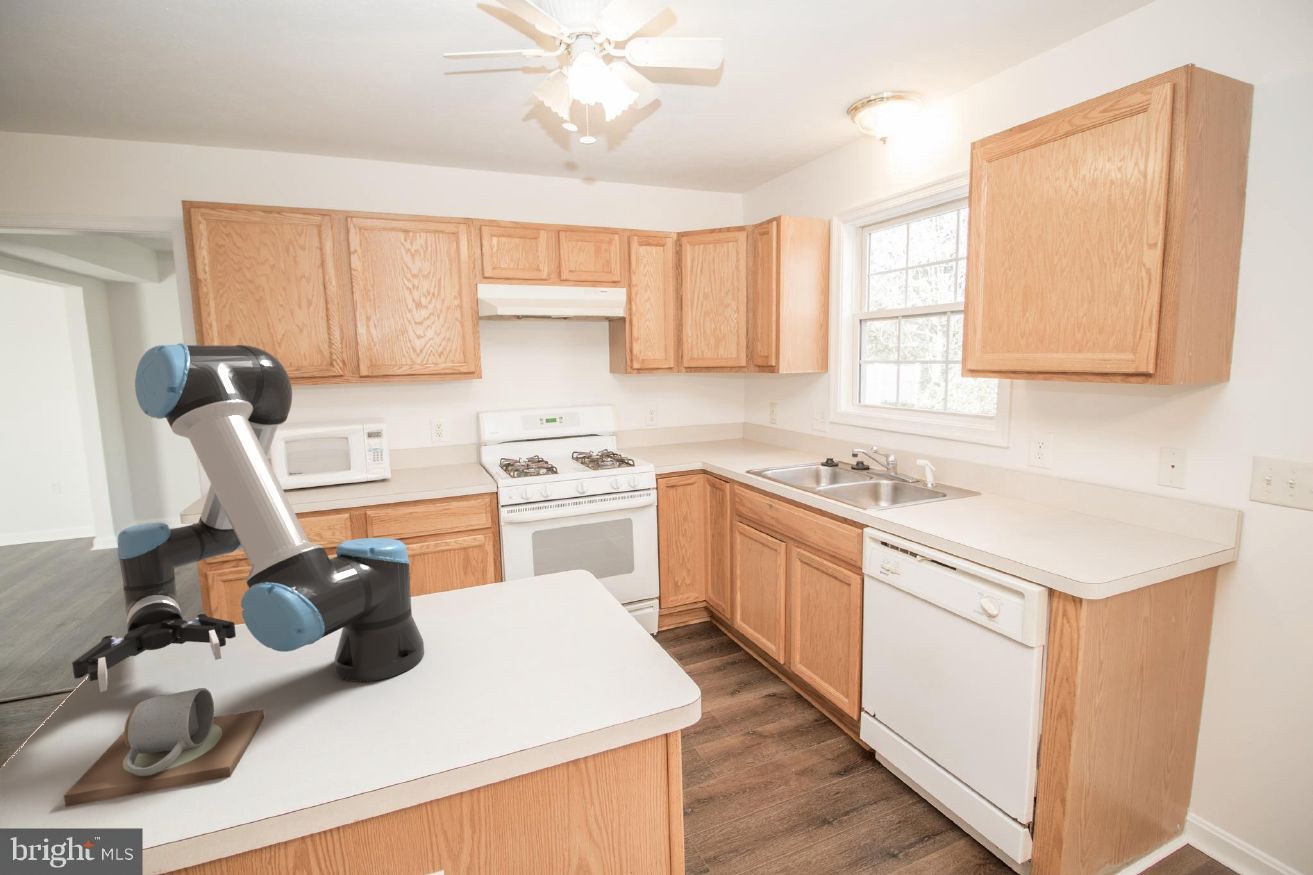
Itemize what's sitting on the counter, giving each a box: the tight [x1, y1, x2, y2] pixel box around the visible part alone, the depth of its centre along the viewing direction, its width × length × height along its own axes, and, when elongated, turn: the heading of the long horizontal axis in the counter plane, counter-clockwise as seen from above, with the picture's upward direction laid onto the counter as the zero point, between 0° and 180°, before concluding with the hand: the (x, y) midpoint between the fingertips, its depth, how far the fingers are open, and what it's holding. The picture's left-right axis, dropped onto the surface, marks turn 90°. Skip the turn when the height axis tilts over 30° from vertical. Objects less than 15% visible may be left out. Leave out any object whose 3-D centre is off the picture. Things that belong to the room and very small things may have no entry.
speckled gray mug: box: [123, 687, 215, 776], centre depth 83 cm, size 11×8×8 cm
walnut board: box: [63, 709, 265, 807], centre depth 85 cm, size 18×14×2 cm
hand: (162, 666), depth 91 cm, fingers open, 13 cm apart
